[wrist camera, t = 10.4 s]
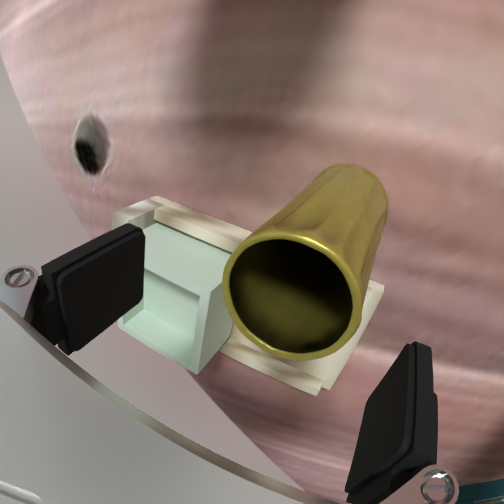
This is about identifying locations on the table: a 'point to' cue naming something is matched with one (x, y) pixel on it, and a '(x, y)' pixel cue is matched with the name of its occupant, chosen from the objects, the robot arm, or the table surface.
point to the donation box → (482, 493)
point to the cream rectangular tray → (237, 345)
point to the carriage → (181, 298)
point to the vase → (309, 267)
